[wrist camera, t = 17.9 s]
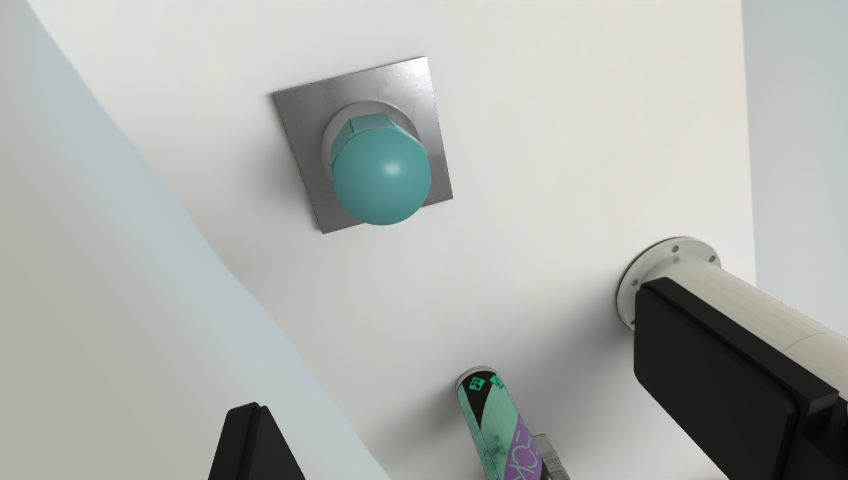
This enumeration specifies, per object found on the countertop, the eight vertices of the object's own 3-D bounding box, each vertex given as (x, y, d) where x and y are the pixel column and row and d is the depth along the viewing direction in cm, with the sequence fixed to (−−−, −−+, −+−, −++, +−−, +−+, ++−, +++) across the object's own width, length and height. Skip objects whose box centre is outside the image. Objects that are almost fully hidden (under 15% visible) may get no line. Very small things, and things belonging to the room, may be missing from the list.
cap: (342, 200, 34) (344, 233, 28) (324, 121, 32) (322, 139, 25) (417, 186, 35) (436, 215, 29) (406, 108, 33) (424, 121, 26)
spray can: (498, 398, 51) (588, 586, 33) (454, 405, 50) (523, 603, 32) (501, 363, 49) (601, 544, 31) (456, 369, 48) (531, 560, 30)
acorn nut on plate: (449, 194, 39) (475, 225, 32) (323, 229, 38) (321, 269, 31) (423, 56, 33) (447, 57, 27) (275, 91, 32) (259, 102, 25)
